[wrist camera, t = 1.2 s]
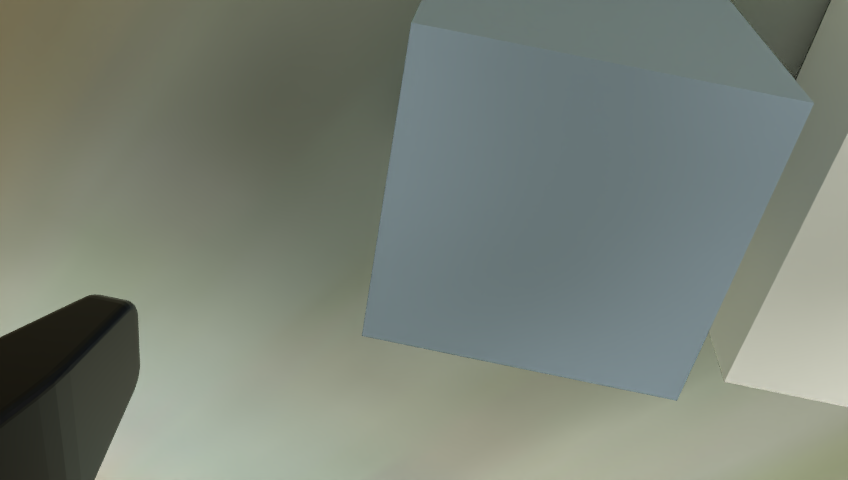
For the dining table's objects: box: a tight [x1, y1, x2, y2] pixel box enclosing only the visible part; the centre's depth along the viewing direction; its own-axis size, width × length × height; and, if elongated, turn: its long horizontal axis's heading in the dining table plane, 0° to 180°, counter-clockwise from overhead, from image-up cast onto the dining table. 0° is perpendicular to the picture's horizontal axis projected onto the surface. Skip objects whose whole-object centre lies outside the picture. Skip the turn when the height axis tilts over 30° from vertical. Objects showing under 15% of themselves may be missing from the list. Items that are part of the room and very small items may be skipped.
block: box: [362, 0, 814, 401], centre depth 14 cm, size 5×5×7 cm
